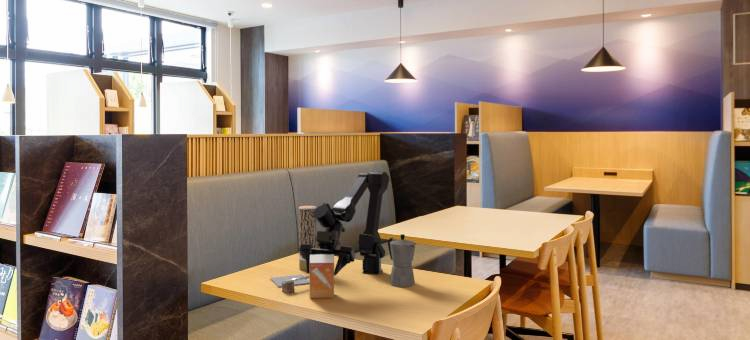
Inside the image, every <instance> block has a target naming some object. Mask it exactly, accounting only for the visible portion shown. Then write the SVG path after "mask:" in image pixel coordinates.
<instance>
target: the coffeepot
mask: <svg viewBox="0 0 750 340" xmlns="http://www.w3.org/2000/svg"><path fill="white" fill-rule="evenodd" d="M399 236H400V239H397V238H393V237H389V239H388V241H387V247H388V251H389V257H390V260H391V261H392V266H391V272H390V278H389V283H390V285H391V286H394V287H396V288H397V287H398V288H399V287H400V288H408V287H413V286H414V285H415V284H416V281H415V276H414V275H415V274H414V268H413V266H412V265H413V263H412V262H413V261H414V256H415V250H416V242H415V241H414V240H413V241H412V240H410V239H405V236H406V235H405V234H404V233H402V234H400V235H399Z"/></svg>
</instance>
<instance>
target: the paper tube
mask: <svg viewBox="0 0 750 340" xmlns="http://www.w3.org/2000/svg"><path fill="white" fill-rule="evenodd" d="M316 208H317V206H315V205H302V206H301V205H300V206H298V248H299V247H300V245H301V244H312V246H313V248H317V241H316V235H317V220H316V219H315V218H314V216H313V212H314V210H315V209H316ZM298 255H299V256H298V261H299V263H298V266H299V267H298V269H300V271H306V272H307V265H306V260H305V259H304V258H303V257H302V255H301V253H300V251H299V250H298ZM315 255H317V254H315Z"/></svg>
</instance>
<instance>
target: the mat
mask: <svg viewBox="0 0 750 340" xmlns="http://www.w3.org/2000/svg"><path fill="white" fill-rule="evenodd" d="M300 277H305V276H304V275H303V274H295V275H294V274H291V275H285V276H284V275H283V276H275V277H270V281H271V282H273V283H274V285H275V286H277V288H282V282H283V281H286V280H291V279H296V278H300ZM299 285H300V286H301V285H310V279H303V280H299V281H294V286H299Z"/></svg>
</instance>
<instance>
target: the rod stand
mask: <svg viewBox="0 0 750 340" xmlns="http://www.w3.org/2000/svg"><path fill="white" fill-rule="evenodd" d="M281 292H282V293H285V294H290V293H293V292H295V285H294V281H291V282H287V283H285V284H283V283H282V287H281Z"/></svg>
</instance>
